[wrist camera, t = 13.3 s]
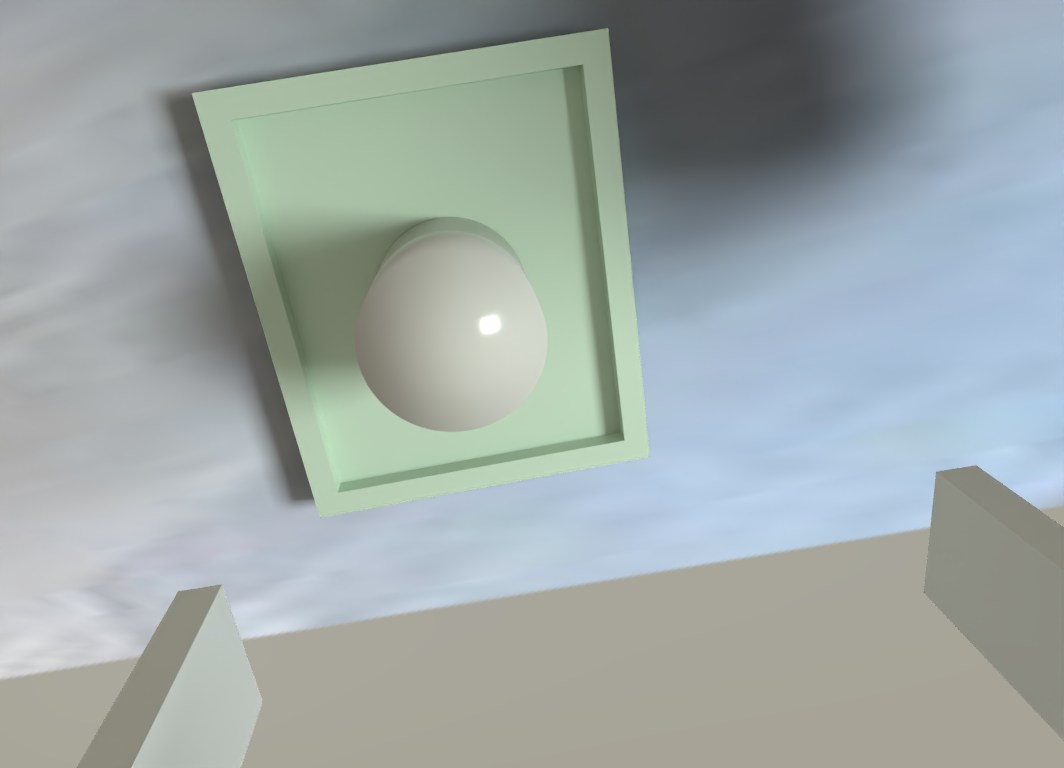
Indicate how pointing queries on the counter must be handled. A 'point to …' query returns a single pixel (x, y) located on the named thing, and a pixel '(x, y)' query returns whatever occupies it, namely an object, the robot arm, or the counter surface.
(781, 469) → the counter surface
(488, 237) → the cream rounded capsule
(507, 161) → the tray
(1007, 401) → the counter surface
